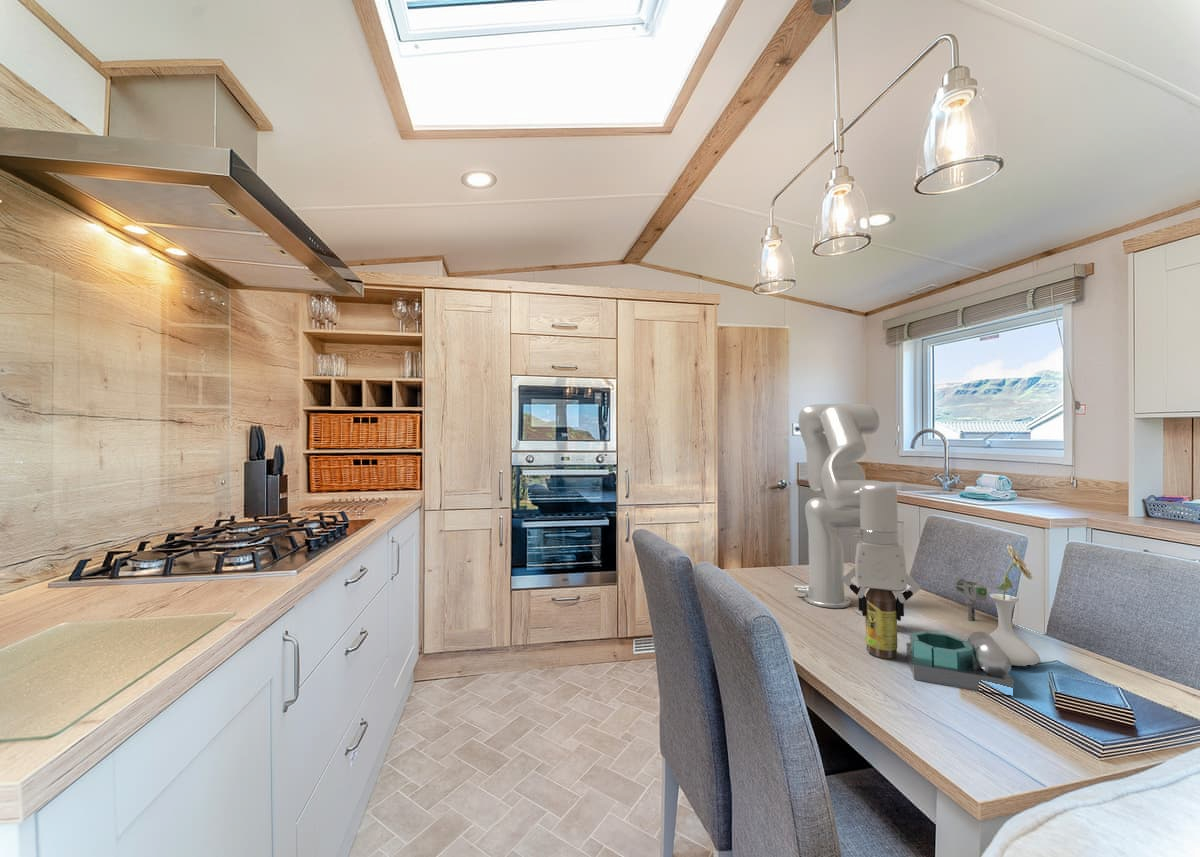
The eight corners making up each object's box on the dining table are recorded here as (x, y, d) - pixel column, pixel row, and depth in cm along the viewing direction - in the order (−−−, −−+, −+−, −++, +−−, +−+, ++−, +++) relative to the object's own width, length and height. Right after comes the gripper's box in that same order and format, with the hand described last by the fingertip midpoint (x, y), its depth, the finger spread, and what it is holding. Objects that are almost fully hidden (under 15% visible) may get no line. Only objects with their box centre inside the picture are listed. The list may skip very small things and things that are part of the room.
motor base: (914, 679, 100) (913, 639, 100) (906, 656, 110) (906, 620, 111) (1013, 696, 93) (1012, 654, 93) (995, 670, 103) (994, 632, 104)
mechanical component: (965, 613, 138) (964, 577, 138) (990, 627, 128) (989, 588, 128) (954, 613, 138) (953, 577, 138) (978, 626, 128) (977, 588, 128)
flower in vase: (1025, 676, 101) (1021, 554, 102) (963, 655, 111) (960, 544, 112) (1054, 662, 107) (1050, 547, 108) (992, 644, 117) (989, 538, 118)
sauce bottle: (863, 646, 116) (861, 562, 116) (893, 650, 114) (891, 563, 114) (869, 658, 110) (867, 568, 110) (901, 662, 108) (898, 570, 108)
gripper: (837, 537, 113) (838, 616, 112) (926, 543, 105) (928, 628, 105) (837, 532, 120) (838, 606, 119) (921, 537, 112) (923, 617, 111)
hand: (880, 615), depth 112 cm, fingers closed on sauce bottle, 6 cm apart
